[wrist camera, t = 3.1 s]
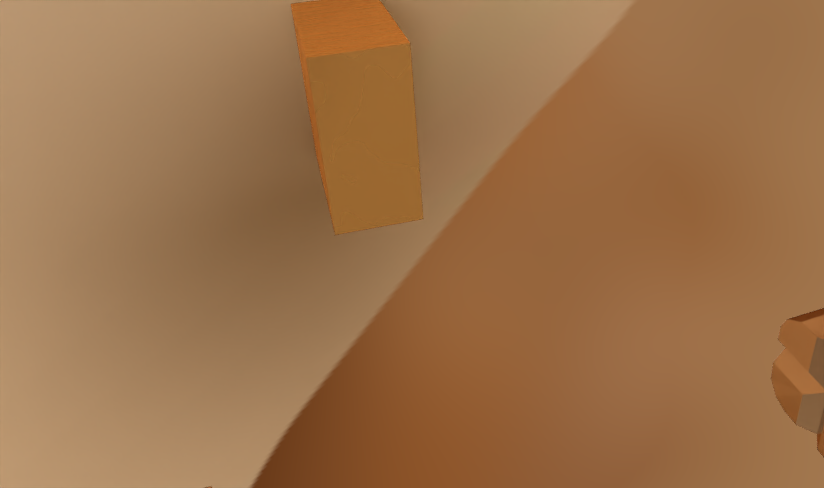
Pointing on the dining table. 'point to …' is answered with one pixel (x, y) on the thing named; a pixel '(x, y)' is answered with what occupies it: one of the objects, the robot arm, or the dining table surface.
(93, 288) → the dining table surface
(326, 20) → the upright wooden block
